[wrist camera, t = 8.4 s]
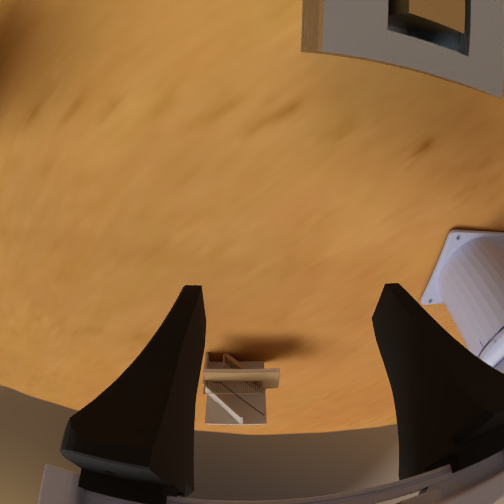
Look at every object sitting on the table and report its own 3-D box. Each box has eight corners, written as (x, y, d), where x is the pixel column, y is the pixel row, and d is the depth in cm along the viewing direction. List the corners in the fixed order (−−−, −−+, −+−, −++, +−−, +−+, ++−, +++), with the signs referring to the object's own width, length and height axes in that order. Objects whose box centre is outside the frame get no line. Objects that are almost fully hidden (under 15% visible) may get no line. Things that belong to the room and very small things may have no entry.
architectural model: (204, 339, 29) (197, 409, 23) (277, 338, 29) (283, 408, 23) (208, 359, 31) (203, 424, 25) (275, 358, 31) (280, 423, 25)
